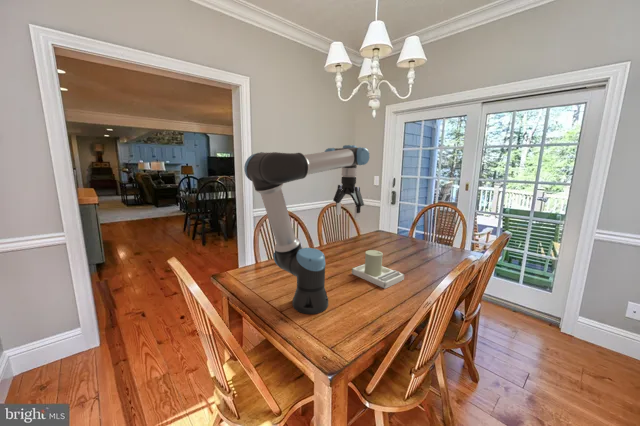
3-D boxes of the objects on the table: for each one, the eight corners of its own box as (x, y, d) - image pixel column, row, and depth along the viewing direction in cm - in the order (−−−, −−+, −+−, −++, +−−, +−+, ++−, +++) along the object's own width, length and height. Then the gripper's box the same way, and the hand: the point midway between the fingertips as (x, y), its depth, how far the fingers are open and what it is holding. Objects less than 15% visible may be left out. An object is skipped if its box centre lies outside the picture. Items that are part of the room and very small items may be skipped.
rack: (385, 288, 126) (385, 281, 125) (351, 273, 143) (352, 266, 142) (403, 279, 136) (404, 272, 136) (370, 266, 153) (371, 260, 152)
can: (381, 277, 136) (383, 255, 134) (363, 275, 138) (365, 254, 136) (381, 270, 145) (382, 249, 143) (364, 269, 147) (365, 248, 145)
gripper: (372, 177, 127) (370, 220, 131) (337, 175, 146) (336, 212, 150) (362, 177, 123) (359, 222, 126) (327, 175, 142) (326, 213, 146)
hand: (347, 216), depth 138 cm, fingers open, 13 cm apart
